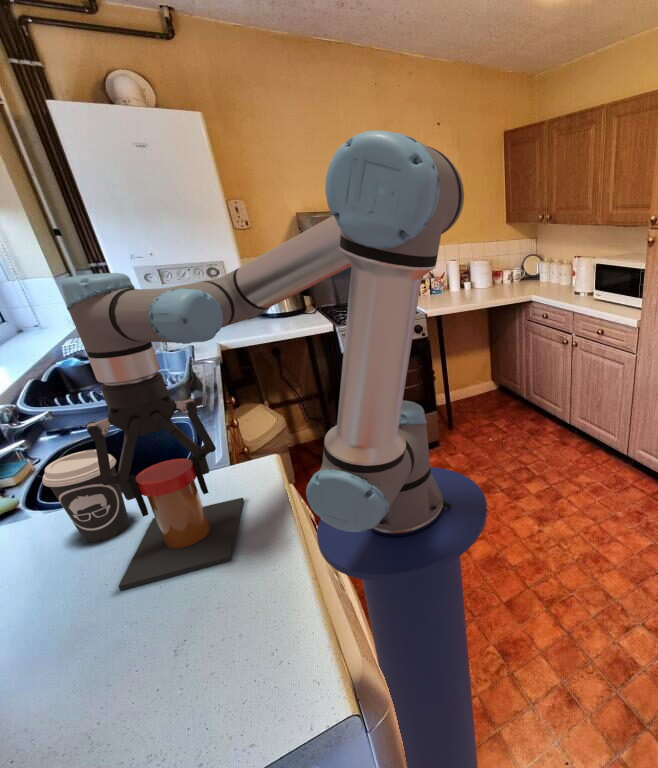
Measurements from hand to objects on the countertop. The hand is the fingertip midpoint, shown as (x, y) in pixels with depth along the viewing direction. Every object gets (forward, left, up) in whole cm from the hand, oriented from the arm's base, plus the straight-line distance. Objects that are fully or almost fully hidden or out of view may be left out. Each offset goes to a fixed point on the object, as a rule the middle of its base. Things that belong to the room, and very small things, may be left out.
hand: (175, 500), depth 75 cm
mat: (0, 0, -9) cm, 9 cm away
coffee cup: (+15, -10, -9) cm, 20 cm away
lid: (0, 0, +5) cm, 5 cm away
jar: (0, 0, -8) cm, 8 cm away
